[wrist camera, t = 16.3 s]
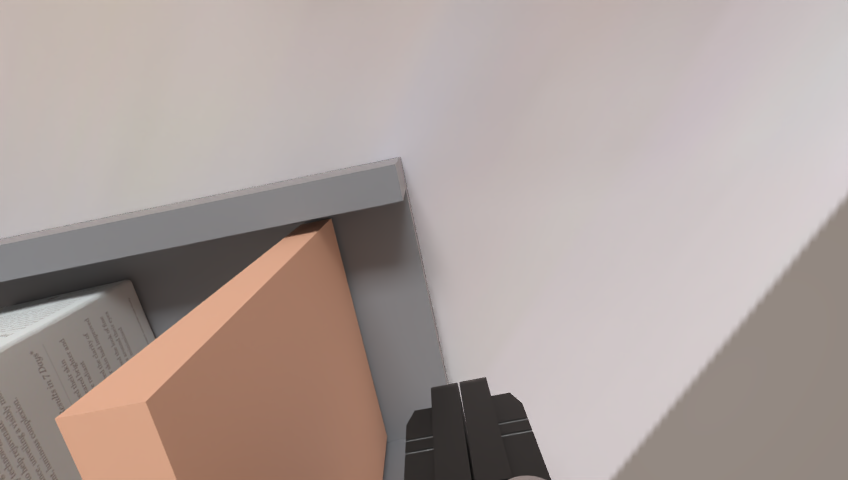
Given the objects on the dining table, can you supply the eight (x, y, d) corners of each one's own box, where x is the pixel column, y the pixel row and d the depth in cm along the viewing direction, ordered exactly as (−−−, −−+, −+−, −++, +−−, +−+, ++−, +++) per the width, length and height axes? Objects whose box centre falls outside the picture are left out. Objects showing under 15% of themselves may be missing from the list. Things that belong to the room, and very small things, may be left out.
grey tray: (41, 512, 22) (-41, 594, 18) (-86, 256, 19) (-218, 289, 15) (459, 437, 21) (468, 506, 17) (400, 156, 18) (395, 164, 14)
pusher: (360, 441, 20) (274, 896, 8) (301, 224, 17) (54, 418, 6) (387, 436, 20) (339, 887, 8) (331, 218, 17) (145, 401, 6)
